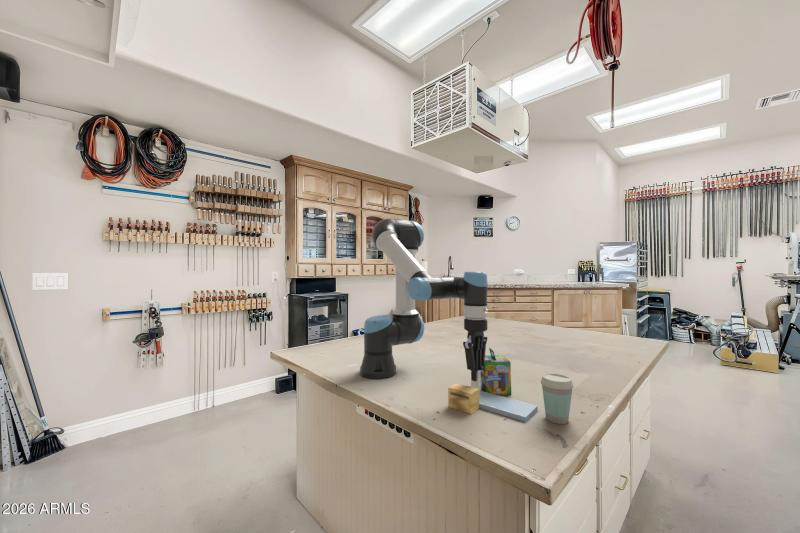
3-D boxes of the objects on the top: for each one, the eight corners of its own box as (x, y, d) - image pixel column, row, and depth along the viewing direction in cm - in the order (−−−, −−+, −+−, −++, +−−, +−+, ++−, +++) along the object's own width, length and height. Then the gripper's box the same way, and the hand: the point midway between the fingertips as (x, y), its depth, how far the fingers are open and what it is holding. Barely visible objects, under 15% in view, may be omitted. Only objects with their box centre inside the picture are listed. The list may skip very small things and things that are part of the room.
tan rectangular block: (448, 406, 100) (448, 387, 100) (456, 401, 104) (456, 383, 104) (471, 414, 95) (471, 393, 95) (479, 408, 99) (479, 389, 99)
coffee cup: (581, 423, 89) (580, 380, 89) (555, 428, 87) (555, 383, 87) (557, 410, 97) (557, 371, 98) (534, 414, 95) (534, 374, 95)
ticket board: (452, 400, 106) (452, 395, 106) (467, 391, 113) (467, 386, 113) (525, 422, 90) (525, 417, 90) (537, 410, 98) (537, 405, 98)
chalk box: (511, 395, 109) (511, 352, 110) (484, 395, 109) (484, 352, 109) (502, 385, 119) (502, 345, 119) (478, 385, 119) (478, 345, 119)
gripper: (476, 321, 98) (477, 398, 98) (494, 317, 108) (495, 387, 108) (455, 319, 103) (455, 392, 103) (474, 314, 113) (474, 381, 113)
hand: (475, 389), depth 106 cm, fingers closed
